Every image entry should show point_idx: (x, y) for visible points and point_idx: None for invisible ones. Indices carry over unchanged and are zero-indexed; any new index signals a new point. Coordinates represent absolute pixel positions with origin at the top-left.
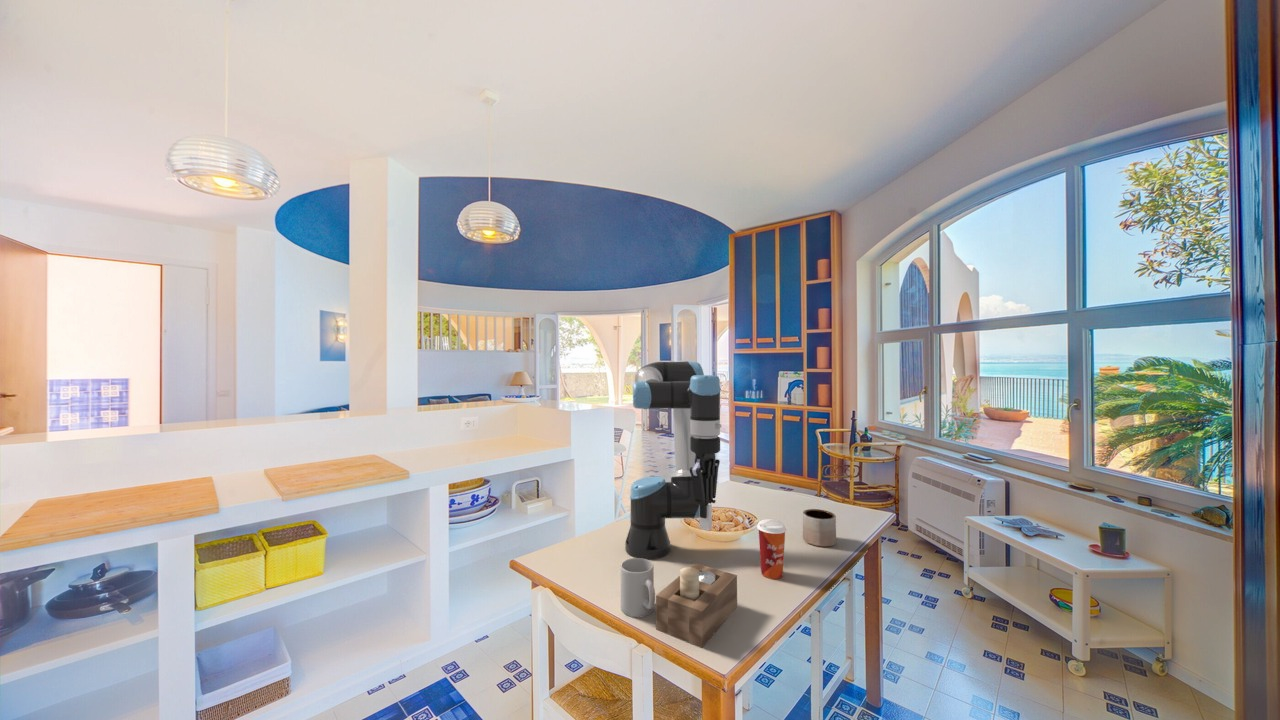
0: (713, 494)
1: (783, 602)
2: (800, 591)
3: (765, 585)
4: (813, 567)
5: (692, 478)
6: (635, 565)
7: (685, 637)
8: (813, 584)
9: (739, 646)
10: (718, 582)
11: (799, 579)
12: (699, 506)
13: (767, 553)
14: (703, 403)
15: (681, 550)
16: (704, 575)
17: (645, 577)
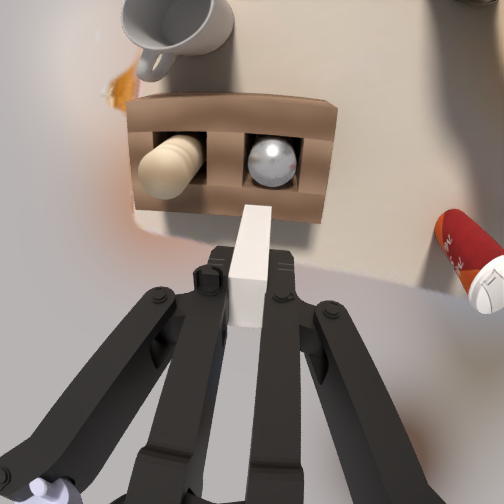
0: (307, 360)
1: (360, 259)
2: (403, 275)
3: (409, 223)
4: None
5: (42, 427)
6: None
7: None
8: (429, 287)
9: (198, 228)
10: (261, 197)
11: (441, 267)
12: (230, 266)
13: (455, 250)
14: None
15: (486, 30)
16: (268, 160)
17: (147, 50)
